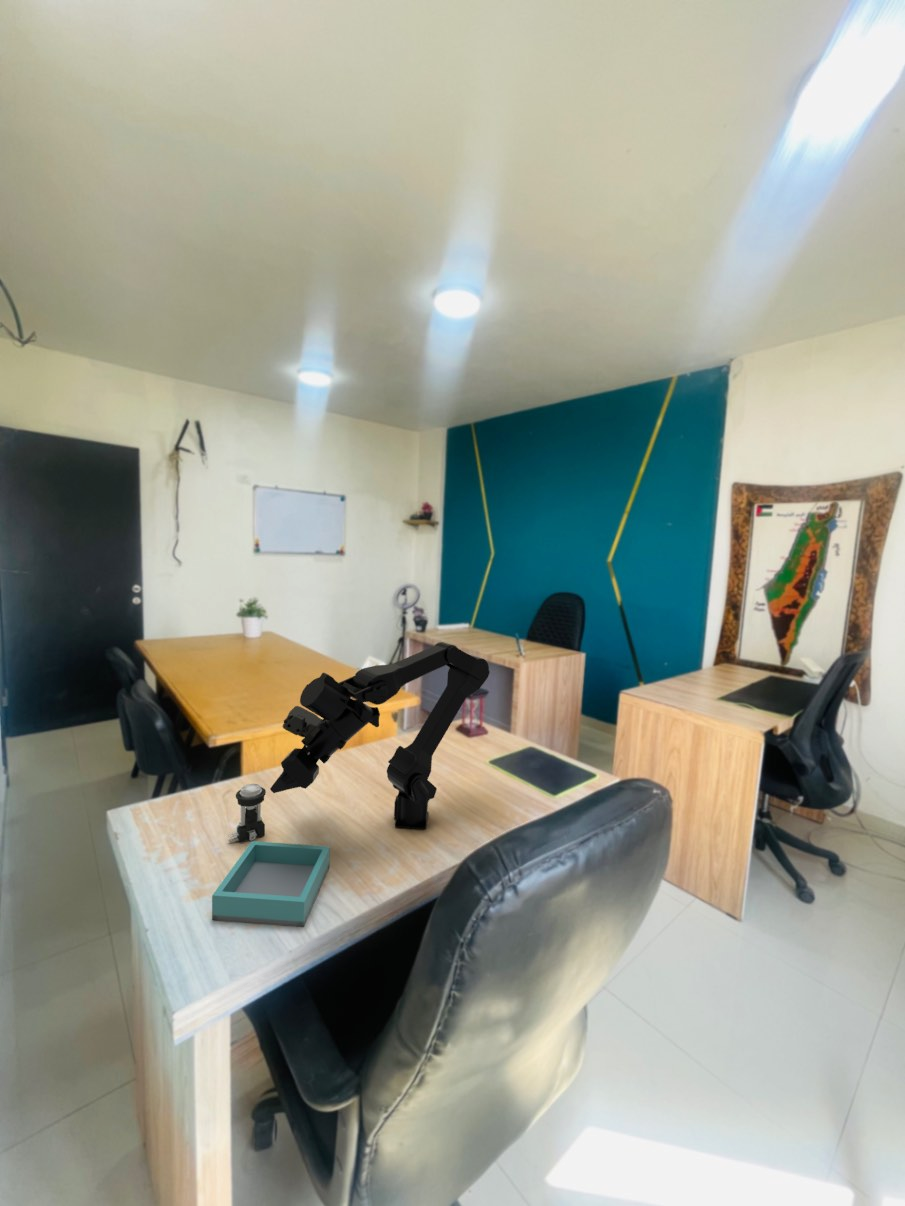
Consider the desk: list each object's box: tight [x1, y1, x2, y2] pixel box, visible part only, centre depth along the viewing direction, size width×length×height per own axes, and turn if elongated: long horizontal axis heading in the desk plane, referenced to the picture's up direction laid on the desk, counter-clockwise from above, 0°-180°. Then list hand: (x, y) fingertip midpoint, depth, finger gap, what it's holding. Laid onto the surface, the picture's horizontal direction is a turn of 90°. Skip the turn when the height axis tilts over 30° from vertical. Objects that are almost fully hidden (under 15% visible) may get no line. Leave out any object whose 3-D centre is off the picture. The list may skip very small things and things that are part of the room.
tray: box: [211, 840, 331, 927], centre depth 82 cm, size 14×14×4 cm
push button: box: [227, 783, 267, 843], centre depth 96 cm, size 7×5×10 cm
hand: (281, 779), depth 95 cm, fingers open, 9 cm apart
